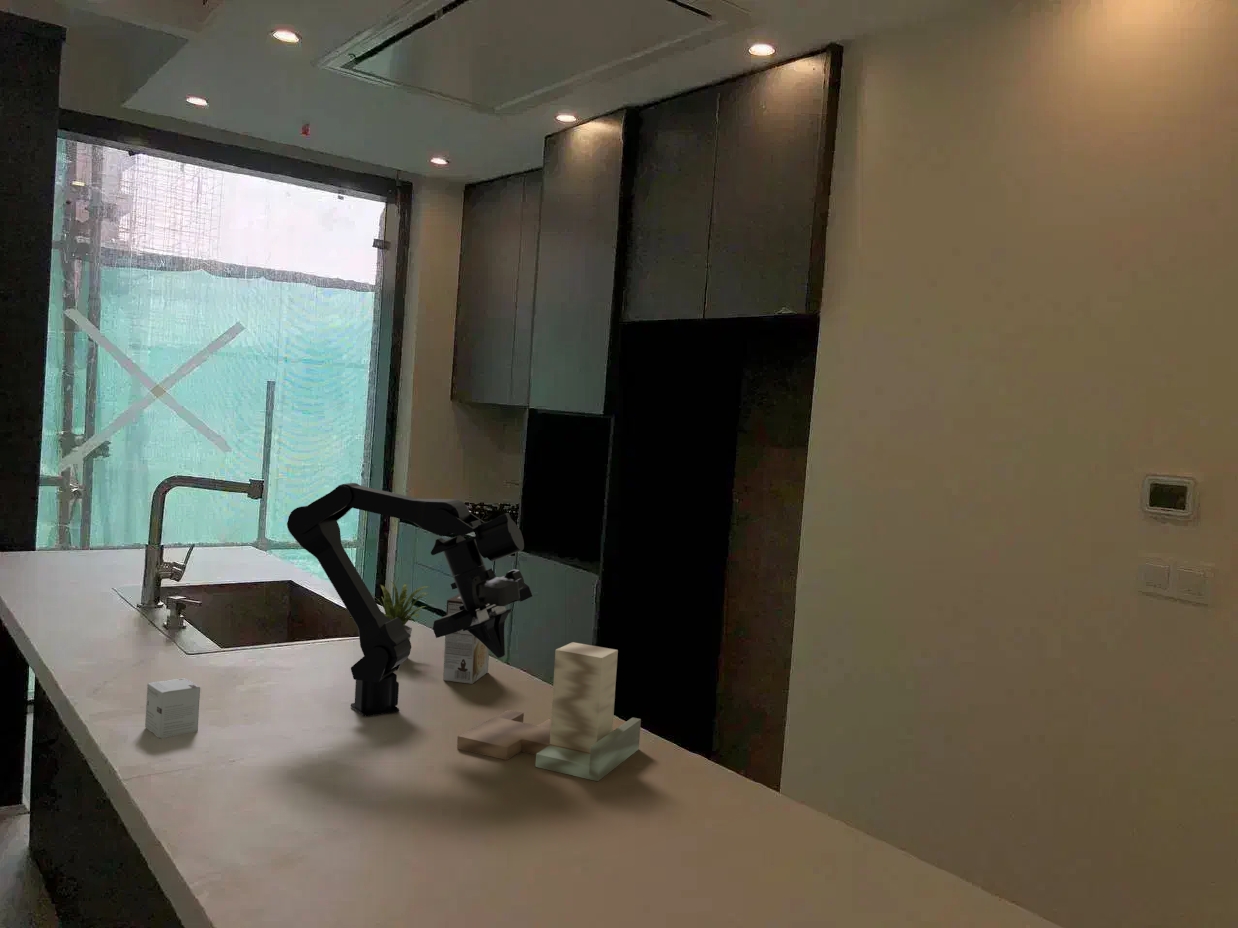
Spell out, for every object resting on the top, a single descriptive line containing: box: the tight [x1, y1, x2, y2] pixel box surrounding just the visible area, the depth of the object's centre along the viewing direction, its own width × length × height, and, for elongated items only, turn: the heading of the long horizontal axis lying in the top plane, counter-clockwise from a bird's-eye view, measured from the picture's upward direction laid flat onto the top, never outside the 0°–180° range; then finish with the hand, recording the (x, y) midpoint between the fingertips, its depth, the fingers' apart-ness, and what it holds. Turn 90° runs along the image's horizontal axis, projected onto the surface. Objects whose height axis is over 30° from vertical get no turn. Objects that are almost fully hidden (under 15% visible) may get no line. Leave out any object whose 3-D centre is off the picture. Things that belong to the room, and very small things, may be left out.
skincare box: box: [144, 677, 201, 739], centre depth 154 cm, size 6×6×7 cm
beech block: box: [550, 641, 619, 753], centre depth 154 cm, size 8×6×15 cm
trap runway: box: [456, 709, 642, 782], centre depth 156 cm, size 24×16×5 cm, turn 67°
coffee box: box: [442, 593, 490, 685], centre depth 193 cm, size 9×6×16 cm
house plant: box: [369, 579, 430, 640], centre depth 204 cm, size 14×14×16 cm
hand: (501, 656), depth 165 cm, fingers closed
